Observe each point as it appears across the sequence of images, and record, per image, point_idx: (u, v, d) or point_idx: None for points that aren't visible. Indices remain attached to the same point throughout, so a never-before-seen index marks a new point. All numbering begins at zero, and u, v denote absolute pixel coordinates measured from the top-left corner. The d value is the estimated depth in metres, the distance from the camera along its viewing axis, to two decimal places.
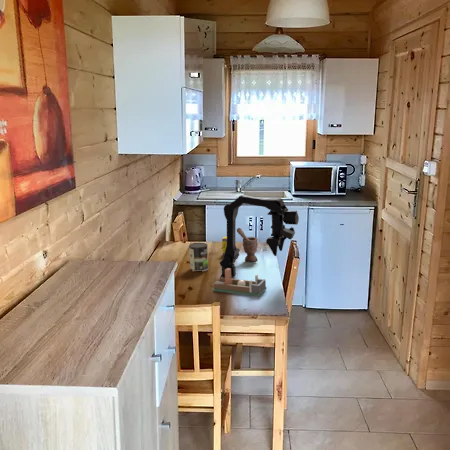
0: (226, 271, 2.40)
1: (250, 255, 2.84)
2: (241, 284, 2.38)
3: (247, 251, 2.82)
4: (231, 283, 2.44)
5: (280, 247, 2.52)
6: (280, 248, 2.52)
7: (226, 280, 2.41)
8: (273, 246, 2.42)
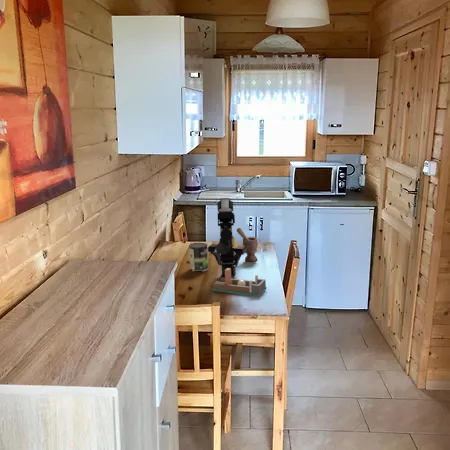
0: (226, 271, 2.40)
1: (250, 255, 2.84)
2: (241, 284, 2.38)
3: (247, 251, 2.82)
4: (231, 283, 2.44)
5: None
6: None
7: (226, 280, 2.41)
8: None
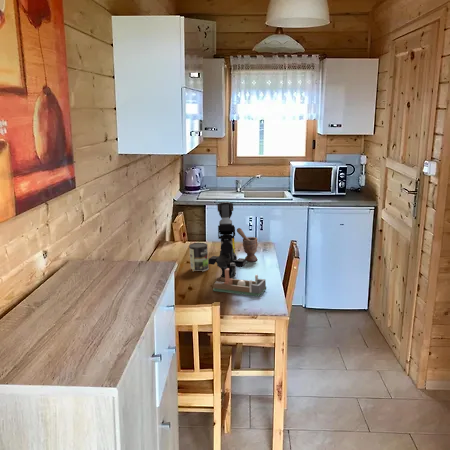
0: (226, 271, 2.40)
1: (250, 255, 2.84)
2: (241, 284, 2.38)
3: (247, 251, 2.82)
4: (231, 283, 2.44)
5: None
6: None
7: (226, 280, 2.41)
8: None
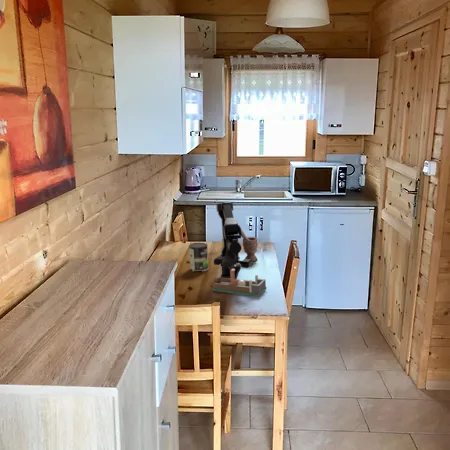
0: (231, 272, 2.39)
1: (250, 255, 2.84)
2: (241, 284, 2.38)
3: (247, 251, 2.82)
4: (236, 284, 2.43)
5: None
6: None
7: (231, 281, 2.40)
8: None
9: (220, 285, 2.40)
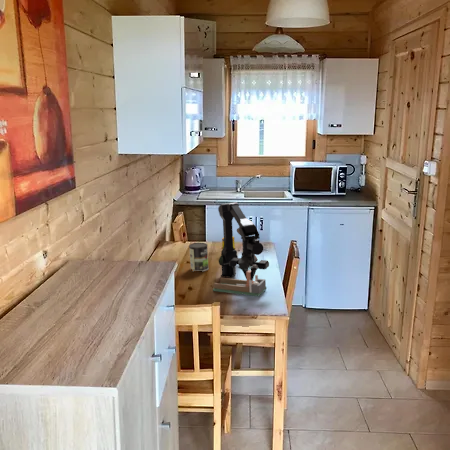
0: (248, 273, 2.36)
1: None
2: None
3: None
4: None
5: None
6: None
7: (247, 282, 2.37)
8: None
9: (220, 285, 2.40)
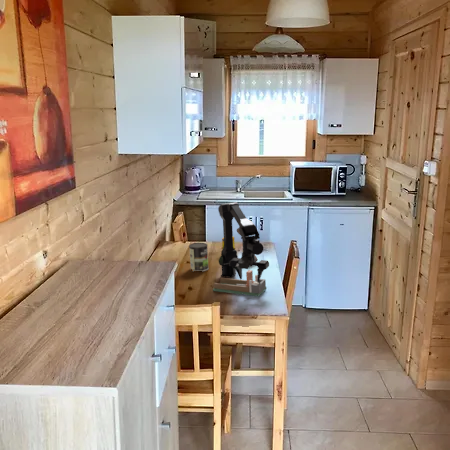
0: (248, 273, 2.36)
1: None
2: None
3: None
4: None
5: None
6: None
7: (248, 282, 2.37)
8: None
9: (220, 285, 2.40)
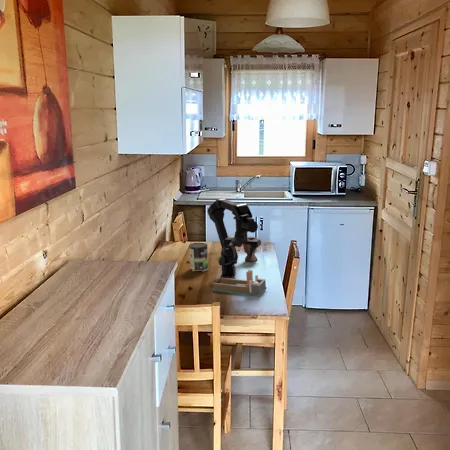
0: (248, 273, 2.36)
1: None
2: None
3: (247, 251, 2.82)
4: None
5: None
6: None
7: (248, 282, 2.37)
8: None
9: (220, 285, 2.40)
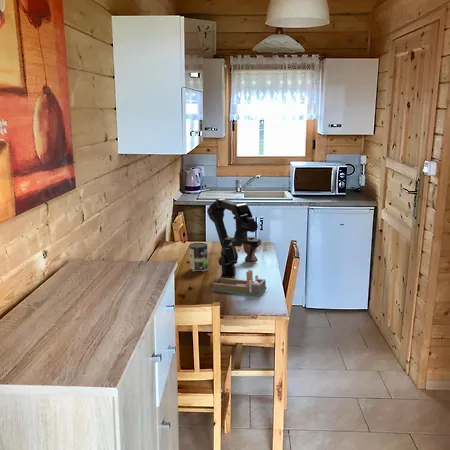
0: (248, 273, 2.36)
1: None
2: None
3: (247, 251, 2.82)
4: None
5: None
6: None
7: (248, 282, 2.37)
8: None
9: (220, 285, 2.40)
